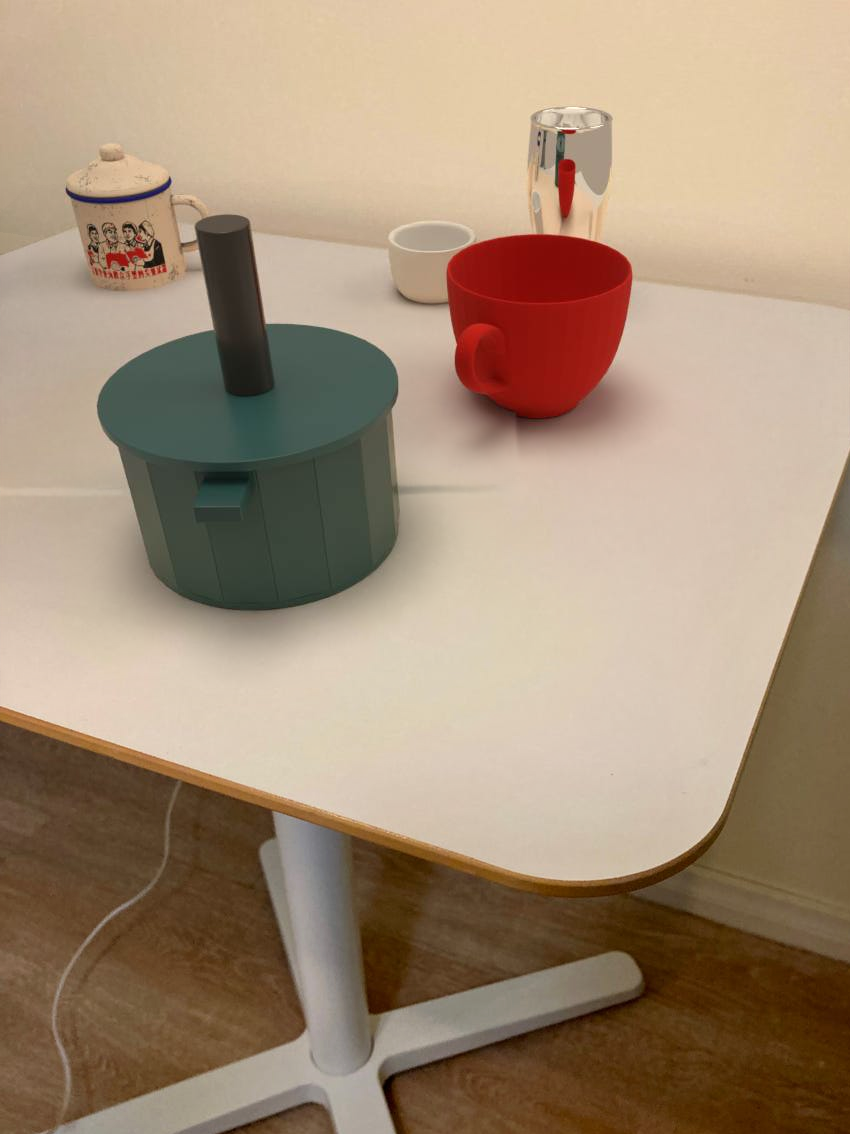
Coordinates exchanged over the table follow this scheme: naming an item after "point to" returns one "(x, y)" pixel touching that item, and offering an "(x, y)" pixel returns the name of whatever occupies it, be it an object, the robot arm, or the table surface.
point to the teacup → (426, 257)
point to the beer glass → (569, 171)
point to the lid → (245, 379)
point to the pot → (270, 524)
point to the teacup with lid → (129, 221)
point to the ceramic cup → (537, 319)
